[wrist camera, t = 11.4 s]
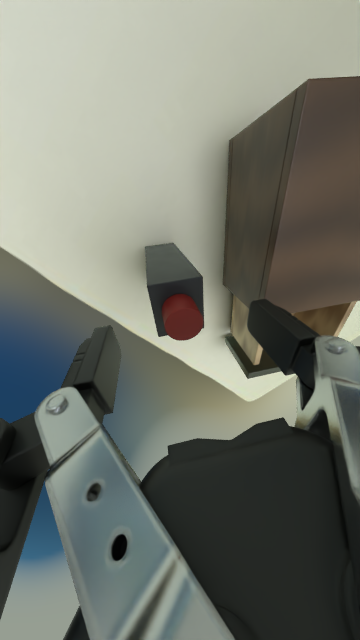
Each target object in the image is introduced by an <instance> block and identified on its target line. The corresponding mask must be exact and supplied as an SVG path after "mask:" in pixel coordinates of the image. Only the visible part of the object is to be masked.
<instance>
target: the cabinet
mask: <svg viewBox="0 0 360 640" xmlns="http://www.w3.org/2000/svg"><path fill="white" fill-rule="evenodd" d="M223 285H224V286H225V287H227V288H228V289H229V290H230V291H231V292H232V293H233V294H234V295H235V296H236V297H237V298H238V299H239V300H240V301H241V302H242V303H243V304H244V305H245V306H246V307H248V308H249V307H250V303H251V301H254V300H260V299H267V300H269V301H270V302H271V303H272V304H274V305H276V306H278V307H281V308H283V309H285V310H287V311H288V312H289V313H291V314H292V313H297V312H302V311H307V310H312V309H318V308H323V307H328V306H333V305H338V304H344V303H349V302H354V301H359V300H360V76H356V77H336V78H317V79H308V80H307V81H305V82H304V83H303V84H302V85H300V86H299V87H298V88H297V89H295V90H294V91H293V92H291V93H290V94H289V95H288V96H286V97H285V98H284V99H282V100H281V101H280V102H279V103H277V104H276V105H275V106H273V107H272V108H271V109H270V110H268V111H267V112H266V113H264V114H263V115H262V116H261V117H259V118H258V119H257V120H255V121H254V122H253V123H252V124H250V125H249V126H248V127H246V128H245V129H244V130H243V131H241V132H240V133H239V134H237V135H236V136H235V137H234V138H232V139H231V140H230V143H229V164H228V186H227V207H226V228H225V250H224V271H223Z"/></svg>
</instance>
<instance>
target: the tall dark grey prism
mask: <svg viewBox="0 0 360 640" xmlns="http://www.w3.org/2000/svg"><path fill="white" fill-rule="evenodd" d="M145 254H146V274H147V288H148V292H149V297H150V301H151V306H152V310H153V314H154V319H155V323H156V328H157V332H158V336H159V337H161V336H166V335H169V336H170V337H171V338H173V339H175V340H188V339H191V338H193V337H195V336H196V335H197V334H198V333H199V332H200V331H201V329H202V328H204V307H203V277H202V275H201V274H200V273H199V272H198V271H197V270H196V268H195V267H194V266H193V265H192V264H191V263H190V262H189V260H188V259H187V258H186V257H185V256H184V255H183V253H182V252H181V251H180V250H179V249H178V248H177V247H176V245H175V244H174V243H168V244H161V245H154V246H147V247H145Z"/></svg>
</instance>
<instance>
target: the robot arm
mask: <svg viewBox="0 0 360 640" xmlns="http://www.w3.org/2000/svg"><path fill="white" fill-rule="evenodd" d="M247 328H248V331H249V332H250V334H251V335H252V336H253V337H254V339H255V340H256V341H257V342H258V343H259V345H260V346H261V347H262V348H263V349H264V350H265V352H266V353H267V354H268V355H269V356H270V358H271V359H272V360H273V361H274V362H275V364H276V365H277V366H278V367H279V368H280V370H281V371H282V372H283V373H284V374H285V375H290V374H296V375H297V376H298V377H297V380H296V392H297V393H296V395H297V419H296V423H295V427H291V426H289V425H288V424H287V422H286V421H285V419H284V418H279V419H275V420H271V421H267V422H262V423H258V424H256V425H254V426H252V427H251V428H249V429H248V430H246V431H245V432H243V433H242V434H240V435H238V436H237V437H235V438H234V439H232V440H216V439H198V438H197V439H193V440H189V441H185V442H181V443H177V444H173V445H169V446H168V455H167V456H166V457H164V458H163V459H161V460H160V461H159V462H158V463H157V464H156V465H154V466H153V468H152V469H151V470H150V471H149V472H148V473H147V475H146V476H145V477H144V479H143V480H142V482H141V480H140V479H139V477H138V476H137V475H136V473H135V471H134V470H133V469H132V467H131V466H130V464H129V463H128V461H127V460H126V459H125V457H124V456H123V454H122V453H121V451H120V450H119V449H118V447H117V445H116V444H115V443H114V441H113V439H112V438H111V436H110V435H109V433H108V432H107V430H106V429H105V427H104V426H103V424H102V422H103V416H104V415H105V414H110V413H113V407H114V401H115V393H116V387H117V381H118V374H119V367H120V361H121V349H120V346H119V343H118V341H117V339H116V336H115V333H114V331H113V328H112V327H111V326H110V325H109V326H103V327H98V328H95V329H94V332H93V334H92V337H91V338H89V339H86V340H85V341H84V342H83V343H82V344H81V345H80V346H79V349H78V351H77V353H76V356H75V358H74V360H73V363H72V364H71V366H70V368H69V371H68V373H67V375H66V377H65V379H64V382H63V384H62V386H61V388H60V389H59V390H57V391H55V392H53V393H51V394H50V395H49V396H47V397H46V398H45V399H44V400H43V401H42V402H41V403H40V405H39V406H38V408H37V410H36V412H34V413H32V414H30V415H27V416H25V417H23V418H21V419H19V420H17V421H14V422H13V423H10V424H9V423H8V422H7V421H5V420H4V419H2V418H0V619H1V616H2V613H3V609H4V606H5V603H6V600H7V597H8V594H9V590H10V587H11V584H12V581H13V578H14V575H15V572H16V568H17V565H18V562H19V559H20V556H21V552H22V549H23V546H24V543H25V540H26V537H27V534H28V531H29V527H30V524H31V521H32V518H33V515H34V511H35V508H36V505H37V502H38V499H39V496H40V492H41V490H42V486H43V483H44V480H45V485H46V489H47V492H48V496H49V499H50V502H51V506H52V509H53V512H54V517H55V520H56V523H57V527H58V530H59V534H60V537H61V540H62V544H63V547H64V551H65V555H66V558H67V562H68V565H69V569H70V572H71V576H72V579H73V583H74V586H75V589H76V593H77V596H78V600H79V603H80V606H79V608H78V610H77V612H76V614H75V616H74V618H73V620H72V622H71V624H70V627H69V628H68V631H67V633H66V635H65V637H64V639H63V640H360V347H359V346H354V345H353V344H351V343H350V342H348V341H346V340H344V339H342V338H339V337H336V336H330V335H322V336H321V335H319V334H318V333H317V332H315V331H314V330H313V329H311V328H310V327H308V326H307V325H306V324H304V323H303V322H302V321H300V320H298V318H296V317H295V316H292V314H291V313H289V312H288V311H287V310H285V309H283V308H281V307H278V306H276V305H274V304H272V303H271V302H270V301H269V300H267V299H260V300H254V301H251V303H250V307H249V313H248V319H247ZM48 469H50V470H49V471H48Z"/></svg>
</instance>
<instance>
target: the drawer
mask: <svg viewBox="0 0 360 640" xmlns="http://www.w3.org/2000/svg"><path fill="white" fill-rule="evenodd" d="M356 302H357V301H354V302H349V303H344V304H338V305H333V306H328V307H323V308H318V309H312V310H307V311H302V312H297V313H292V316H295V317H296V318H298V320H300V321H302V322H303V323H304V324H306V325H307V326H308V327H310V328H311V329H313V330H314V331H315V332H317V333H318V334H319V335H321V336H322V335H330V336H336V337H338V335H339V333H340V331H341V329H342V328H343V326H344V324H345V322H346V320H347V318H348V317H349V315H350V313H351V311H352V309H353V307H354V306H355V304H356ZM248 313H249V308H248V307H246V306H245V305H244V304H243V303H242V302H241V301H240V300H239V299H238V298H237V297H236V296H235V295H234V298H233V309H232V321H231V333H232V335H233V336H230V337H226V339H225V343H226V344H227V346H228V347H229V349H230V351H231V352H232V354H233V356H234V357H235V359H236V360H237V362H238V364H239V365H240V367H241V369H242V370H243V372H244V374H245V375H246V377H247V378H248V379H249V378H253V377H258V376H262V375H267V374H271V373H275V372H280V371H281V370H280V368H279V367H278V366H277V365H276V364H275V362H274V361H273V360H272V359H271V358H270V356H269V355H268V354H267V353H266V352H265V350H264V349H263V348H262V347H261V346H260V345H259V343H258V342H257V341H256V340H255V339H254V337H253V336H252V335H251V334H250V332H249V331H248V328H247V319H248Z"/></svg>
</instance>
